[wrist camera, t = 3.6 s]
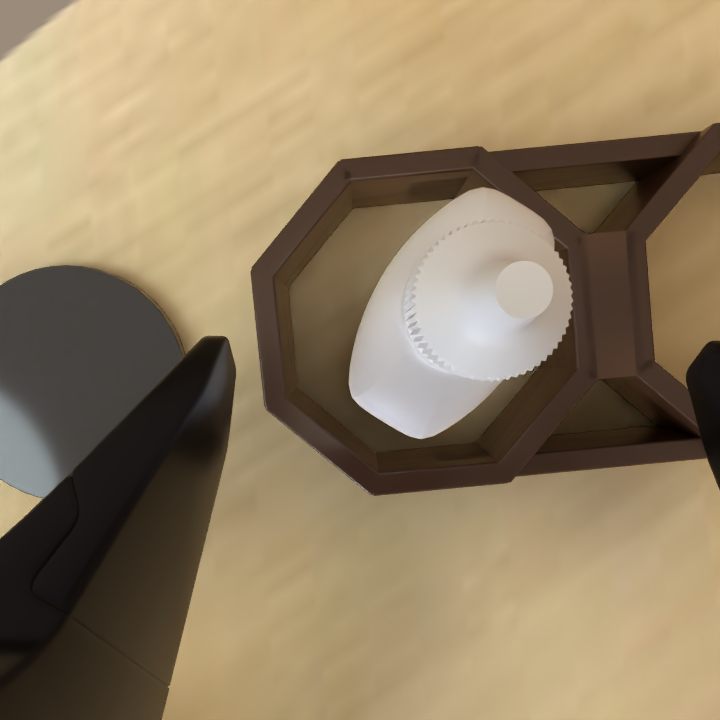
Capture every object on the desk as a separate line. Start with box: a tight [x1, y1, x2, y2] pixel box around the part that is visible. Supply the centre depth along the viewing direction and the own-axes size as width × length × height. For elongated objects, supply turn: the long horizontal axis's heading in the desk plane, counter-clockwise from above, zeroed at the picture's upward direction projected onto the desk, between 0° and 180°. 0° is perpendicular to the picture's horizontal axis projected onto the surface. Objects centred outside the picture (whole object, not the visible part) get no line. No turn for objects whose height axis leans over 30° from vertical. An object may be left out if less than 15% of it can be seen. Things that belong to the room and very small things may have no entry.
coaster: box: [0, 265, 185, 498], centre depth 18 cm, size 8×8×1 cm
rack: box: [251, 123, 720, 496], centre depth 16 cm, size 10×21×3 cm, turn 95°
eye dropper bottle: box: [349, 187, 573, 439], centre depth 12 cm, size 4×6×12 cm
